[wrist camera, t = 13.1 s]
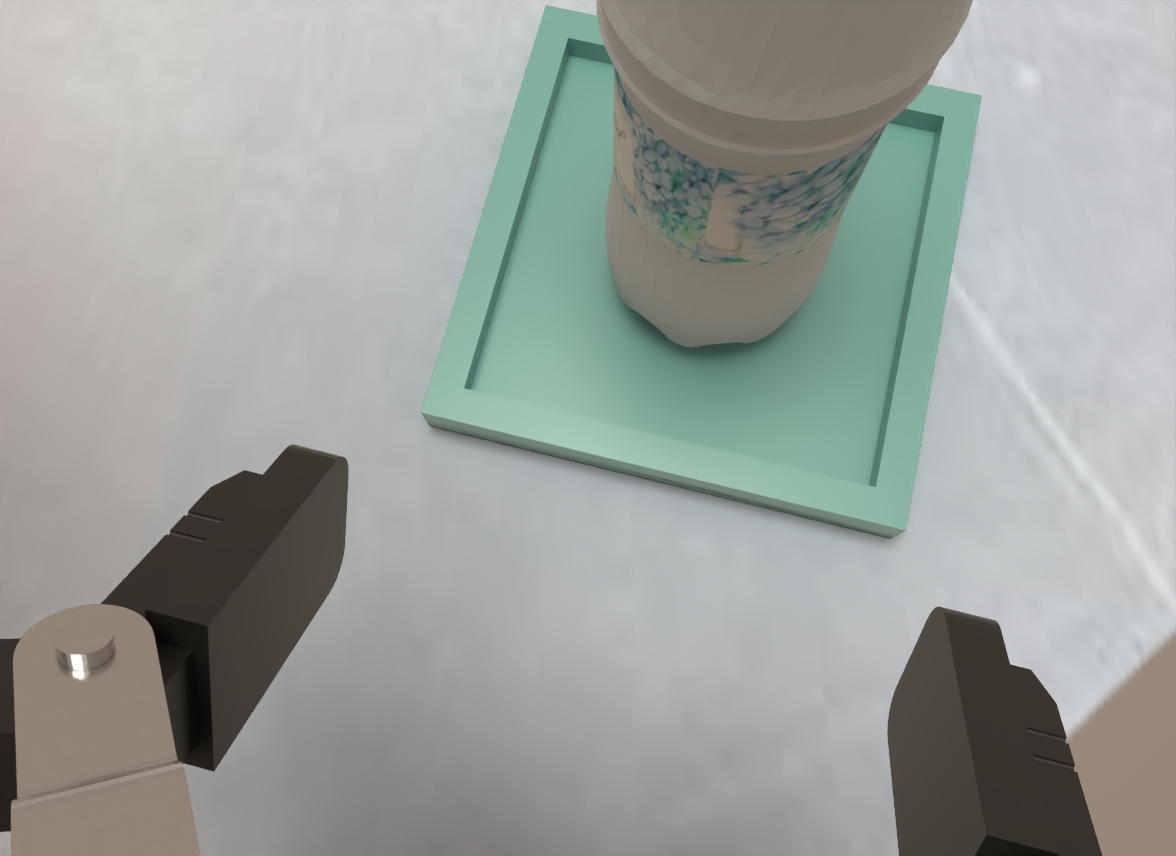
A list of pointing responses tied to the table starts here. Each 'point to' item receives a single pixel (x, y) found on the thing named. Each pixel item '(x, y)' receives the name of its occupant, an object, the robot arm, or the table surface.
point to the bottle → (749, 145)
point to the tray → (716, 371)
